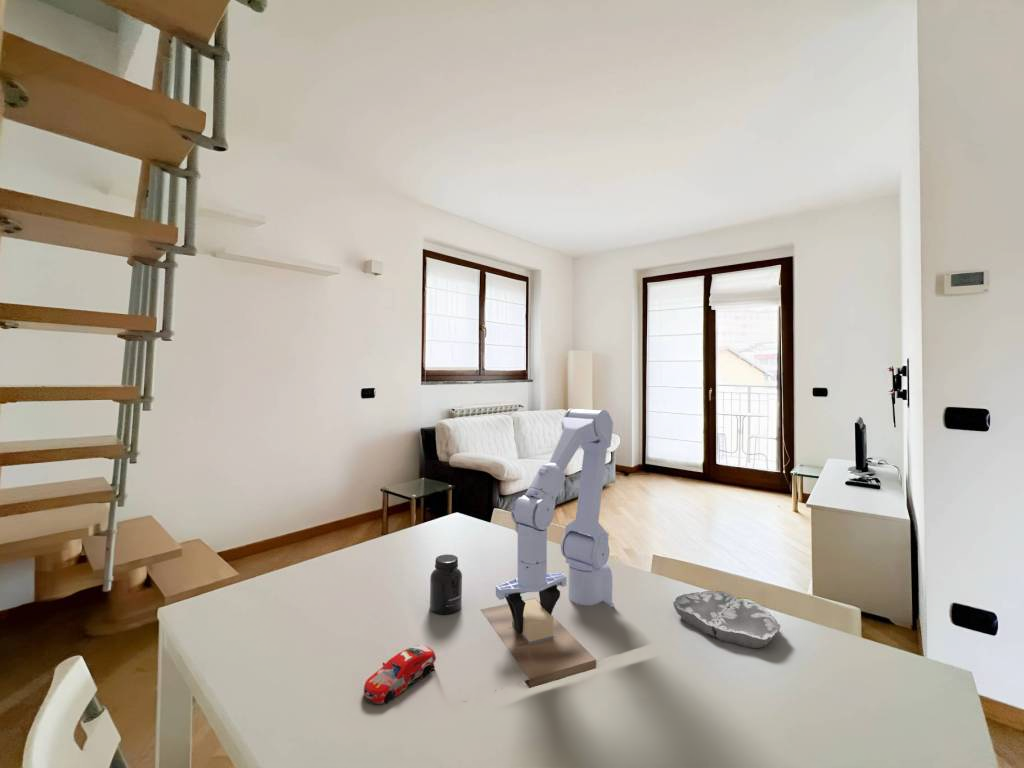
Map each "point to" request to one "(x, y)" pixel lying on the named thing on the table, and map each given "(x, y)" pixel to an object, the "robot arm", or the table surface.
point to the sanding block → (536, 623)
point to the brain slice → (728, 618)
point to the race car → (399, 674)
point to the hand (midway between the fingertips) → (531, 627)
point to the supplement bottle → (446, 586)
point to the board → (541, 649)
